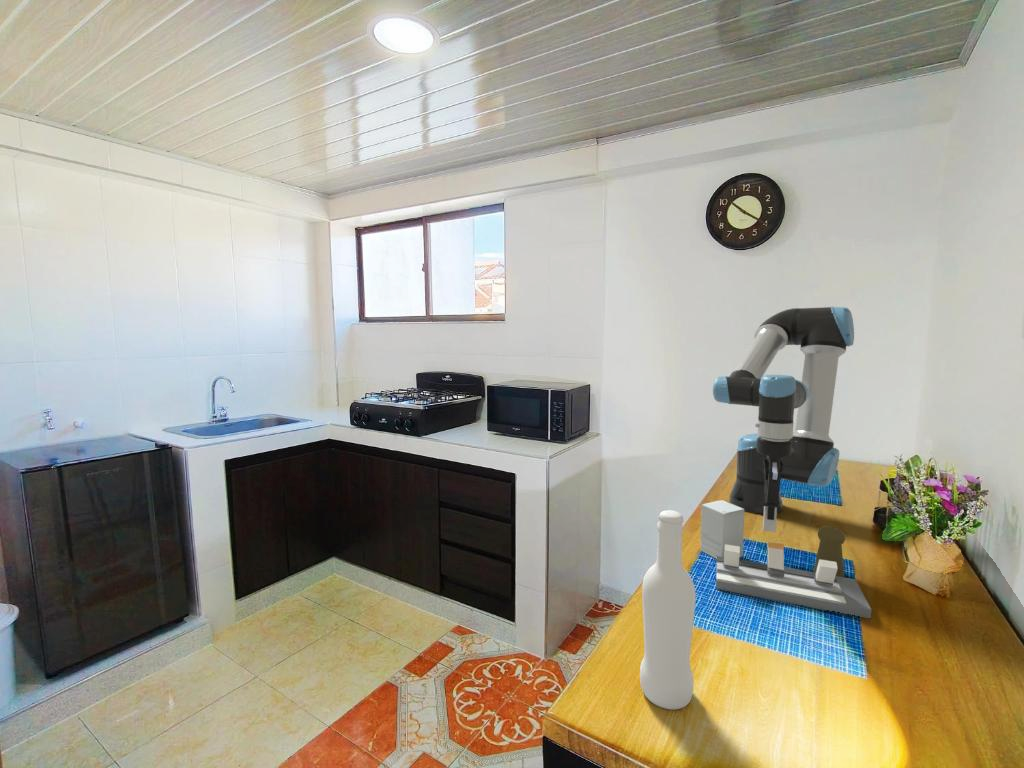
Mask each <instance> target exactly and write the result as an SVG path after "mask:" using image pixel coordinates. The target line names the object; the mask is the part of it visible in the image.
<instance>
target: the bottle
mask: <svg viewBox="0 0 1024 768" xmlns="http://www.w3.org/2000/svg"><path fill="white" fill-rule="evenodd" d="M658 520H659V521H658V522H657V523H656V529H657V545H656V548H657V549H656V561H655V563H654V564H652V565H651V566H650V567H649V568H648V570H647V571H646V572H645V575H644V576H643V579H642V580H643V581H642V586H641V594H642V595H641V596H642V597H641V598H642V617H643V618H642V619H643V621H642V622H643V639H644V641H643V643H644V655H643V659H642V660H641V663H640V668H639V681H640V687H641V690H642V692H643V694H644V696H645V697H646V699H647V700H649V702H651V703H652V704H654V705H655V706H657V707H659V708H662V709H666V710H670V711H671V710H672V711H673V710H674V711H675V710H681V709H683V708H685V707H686V706H688V705H689V703H690V702H691V699H692V697H693V694H694V693H693V692H694V675H693V671H692V668H691V661H690V660H691V659H690V658H691V647H692V640H693V629H694V618H695V609H696V598H697V597H696V596H697V595H696V588H695V583H694V581H693V579H692V577H691V575H690V574H689V573H688V571H687V570H686V569H685V567H684V566H683V542H682V541H683V533H684V526H683V523H684V516H683V514H681V512H679V511H676V510H669V509H668V510H663V511H661V512H660V514H659V515H658Z"/></svg>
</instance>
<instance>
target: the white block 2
mask: <svg viewBox="0 0 1024 768" xmlns="http://www.w3.org/2000/svg"><path fill="white" fill-rule="evenodd" d="M837 569H838V568H837V563H836V562H833V561H827V560H821V559H819V562H818V566H817V570H816V577H814V581H815V582H816V583H822V584H827V585H833V583H834V579H835V576H836V573H837Z"/></svg>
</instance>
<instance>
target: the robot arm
mask: <svg viewBox="0 0 1024 768" xmlns="http://www.w3.org/2000/svg"><path fill="white" fill-rule="evenodd" d="M854 343H855V326H854V318H853V315H852V312H851V310H850V309H849V308H848V307H845V306H844V307H843V306H826V307H824V306H823V307H801V308H800V307H799V308H797V307H796V308H790V309H789V308H788V309H785V310H782V311H779V312H777V313H776V314H774V315H772V316H770V317H768V319H766V320H764V321H763V322H762V323H761V324H760V325H759V327H758V328H757V329H756V330H755V332H754V340H753V341H752V343H750V346H749V347H748V348H747V350H746V351H745V353H744V354H743V355H742V357H741V359H739V362H738V363H737V365H736V366H735V368H734V369H733V370H732V372H731V373H730V375H729V376H727V375H723V376H717V377H716V379H715V380H714V381H713V386H712V395H713V398H714V399H713V400H715V401H716V402H718V403H722V404H723V403H724V404H728V405H737V406H739V405H740V406H752V407H758V417H757V418H758V423H755V424H754V427H755V428H757V433H749V434H745V435H742V436H740V437H739V439H738V442H737V448H736V451H737V453H736V479H735V482H734V484H733V486H732V489H731V491H730V494H729V502H728V503H731V504H733V505H735V506H738V507H741V508H743V509H744V512H748V513H753V514H761V515H763V517H762V518H763V520H762V530H763V531H765V532H771V533H776V532H777V530H776V529H777V517H778V516H777V514H778V513H780V512H781V511H783V500H782V496H781V493H780V489H781V481H782V480H784V481H789V482H794V483H798V484H799V483H801V484H804V485H805V484H806V485H808V486H816V487H817V486H818V487H826V486H828V485H830V483H831V482H832V481H833V480H834V477H835V474H836V472H837V469H838V465H839V462H840V461H839V460H840V459H839V458H840V450H839V449H838V448H836V447H834V445H835V442H834V441H833V439H832V438H831V437H830V428H831V427H830V426H831V419H832V413H833V404H834V397H835V389H836V382H837V373H838V366H839V359H840V357H841V356H842V355H844V354H845V353H846V352H847V347H851V346H853V345H854ZM786 346H800V347H799V349H800V352H802V353H803V355H804V361H803V369H802V376H801V380H798V379H796V378H795V377H794V376H791V375H786V374H766V371H767V370H768V369H769V367H770V366H771V364H772V362H773V360H774V359H775V357H776V355H777V354H778V352H780V351H781V350H782V349H784V348H785V347H786ZM764 374H765V375H764ZM796 409H797V414H796V421H795V422H794V413H795V412H794V411H795V410H796ZM794 423H795V427H794Z"/></svg>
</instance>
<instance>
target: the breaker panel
mask: <svg viewBox="0 0 1024 768" xmlns="http://www.w3.org/2000/svg"><path fill="white" fill-rule="evenodd" d="M723 561H724V557H721V556H717V559H716V576H715V577H716V579H715V580H716V581H715V589H716V590H722V591H726V592H730V593H736V594H739V595H740V594H742V595H745V596H749V597H750V596H752V597H755V598H756V597H757V598H762V599H767V600H771V601H778V602H781V603H782V602H783V603H785V604H787V603H788V604H791V605H796V604H798V605H797V606H801V605H803V606H802V607H806V606H807V607H808V608H812V609H818V610H822V611H823V610H824V611H827V610H829V611H828V612H832V611H835V612H834V613H837V612H840V613H839V614H842V613H844V615H847V614H849V615H848V616H852V615H855V616H854V617H857V616H860V617H859V618H862V617H865V618H864V619H867V618H871V619H872V608H871V606H870V604H869V602H868V600H867V599H866V597H865V595H864V593H863V591H862V589H861V588H860V585H859V583H858V581H857V580H856V579H855V578H849V577H846V576H844V577H839V576H835V579H834V583H833V585H827V584H822V583H816V582H815V581H814V577H816V573H815V572H814V571H808V570H801V569H797V568H790V567H785V566H784V570H781V571H784V577H782V576H777V575H771V574H767V568H768V563H762V562H754V561H750V560H743V559H739V569H737V568H731V567H726V566H723ZM769 569H773V568H769ZM775 570H779V569H775ZM850 614H851V615H850Z"/></svg>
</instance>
